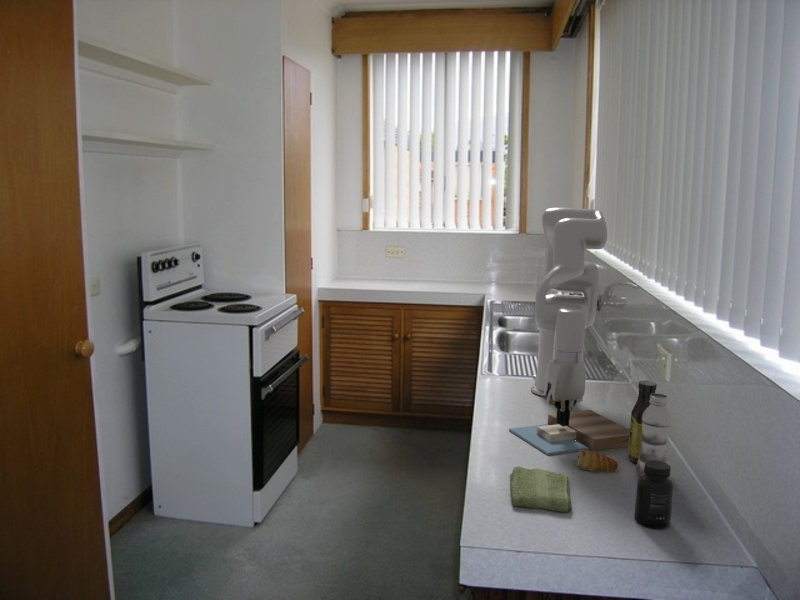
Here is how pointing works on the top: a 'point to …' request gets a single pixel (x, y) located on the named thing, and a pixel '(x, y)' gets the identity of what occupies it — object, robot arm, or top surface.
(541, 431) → the birch tile
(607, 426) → the walnut stand
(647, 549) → the top surface
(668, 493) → the supplement bottle
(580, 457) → the pastry
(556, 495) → the washcloth
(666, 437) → the plastic bottle
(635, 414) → the sauce bottle
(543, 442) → the rubber mat
